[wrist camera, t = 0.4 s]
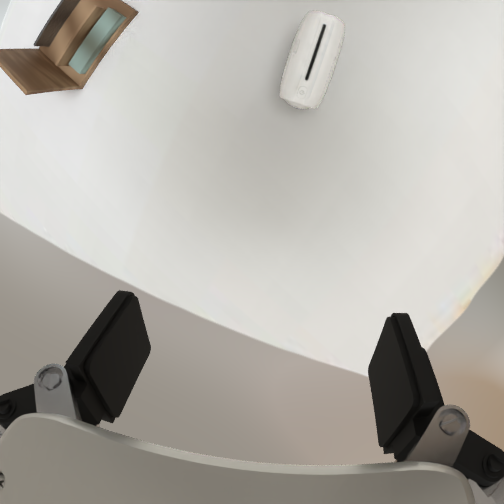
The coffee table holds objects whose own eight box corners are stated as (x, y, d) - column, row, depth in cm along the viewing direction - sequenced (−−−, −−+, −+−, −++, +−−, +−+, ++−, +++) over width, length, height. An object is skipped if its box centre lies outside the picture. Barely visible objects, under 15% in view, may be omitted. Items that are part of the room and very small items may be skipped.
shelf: (89, -19, 26) (39, -36, 15) (138, 12, 29) (88, -8, 18) (41, 51, 31) (-12, 52, 21) (82, 88, 35) (25, 95, 24)
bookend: (78, -10, 26) (64, -15, 22) (85, -6, 26) (71, -10, 23) (43, 41, 30) (29, 40, 27) (49, 46, 30) (34, 46, 27)
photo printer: (311, 112, 34) (321, 117, 23) (278, 101, 34) (271, 100, 23) (336, 40, 29) (356, 14, 18) (302, 28, 29) (307, -3, 18)
